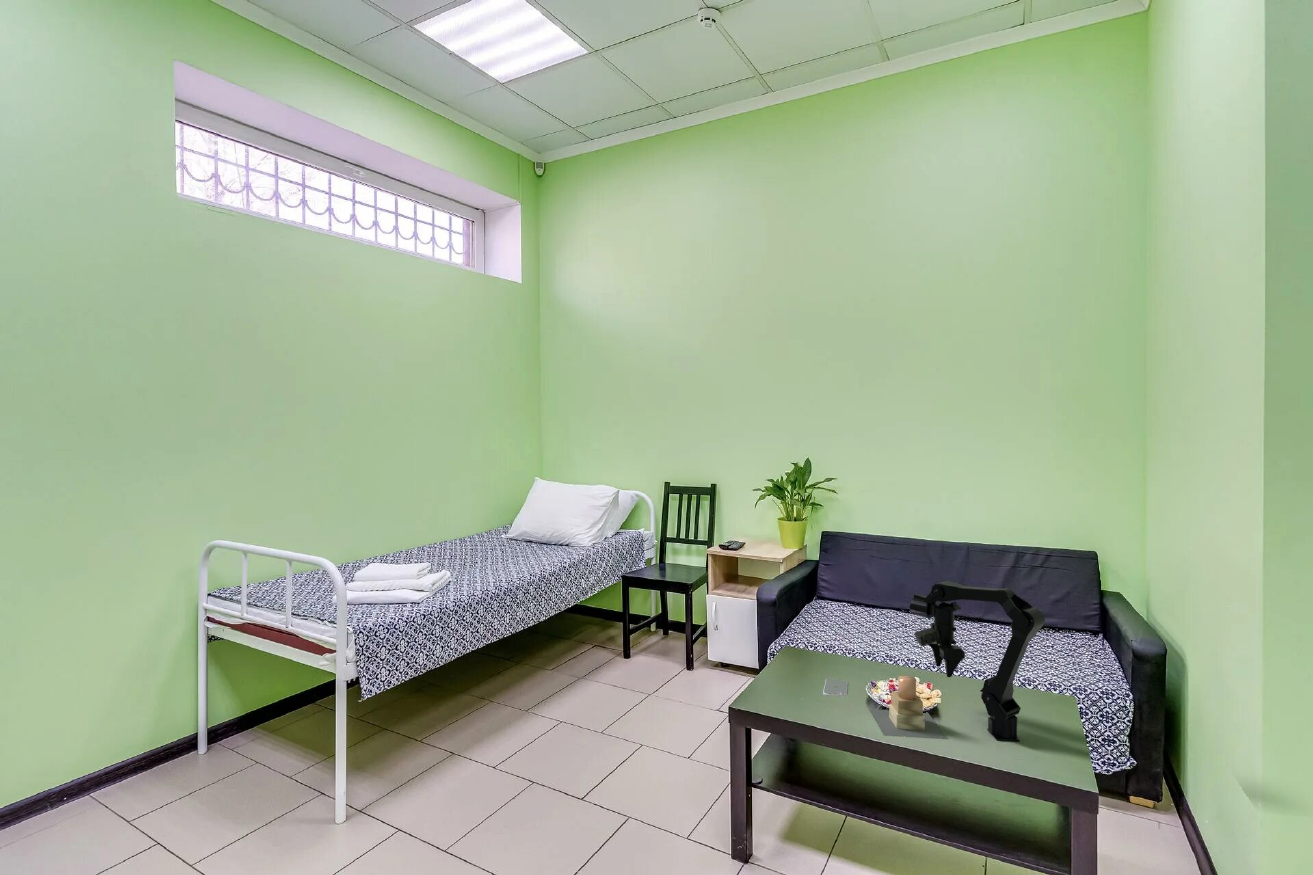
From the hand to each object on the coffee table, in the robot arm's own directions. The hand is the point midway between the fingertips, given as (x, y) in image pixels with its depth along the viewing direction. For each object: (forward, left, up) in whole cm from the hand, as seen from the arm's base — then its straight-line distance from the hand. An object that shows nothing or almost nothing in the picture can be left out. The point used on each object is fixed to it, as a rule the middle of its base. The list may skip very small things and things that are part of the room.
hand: (943, 671), depth 197 cm
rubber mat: (+14, +10, -13) cm, 22 cm away
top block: (+14, +10, -9) cm, 19 cm away
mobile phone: (+30, -16, -14) cm, 37 cm away
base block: (+14, +10, -13) cm, 21 cm away
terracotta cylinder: (+14, +10, -5) cm, 18 cm away
